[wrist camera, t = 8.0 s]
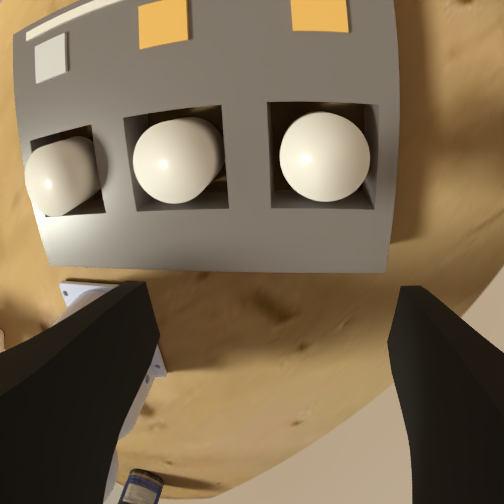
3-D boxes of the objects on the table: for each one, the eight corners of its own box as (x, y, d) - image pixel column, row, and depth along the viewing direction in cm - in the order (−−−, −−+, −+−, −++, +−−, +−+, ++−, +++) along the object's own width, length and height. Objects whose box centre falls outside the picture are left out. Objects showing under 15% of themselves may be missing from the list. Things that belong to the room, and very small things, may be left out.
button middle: (228, 185, 17) (216, 202, 15) (161, 188, 18) (139, 205, 15) (222, 113, 16) (208, 116, 13) (153, 121, 16) (128, 126, 13)
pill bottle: (154, 484, 44) (138, 533, 34) (125, 469, 42) (106, 519, 32) (171, 481, 41) (154, 535, 31) (139, 466, 40) (119, 521, 30)
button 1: (355, 185, 16) (367, 202, 14) (282, 184, 17) (280, 201, 14) (357, 112, 15) (370, 115, 12) (280, 110, 15) (277, 112, 13)
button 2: (110, 196, 17) (82, 215, 15) (62, 201, 18) (33, 218, 15) (99, 130, 16) (68, 140, 13) (51, 142, 16) (19, 152, 13)
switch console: (373, 247, 19) (386, 274, 16) (72, 246, 21) (48, 267, 18) (373, -18, 11) (388, -38, 8) (42, 36, 14) (11, 34, 11)
